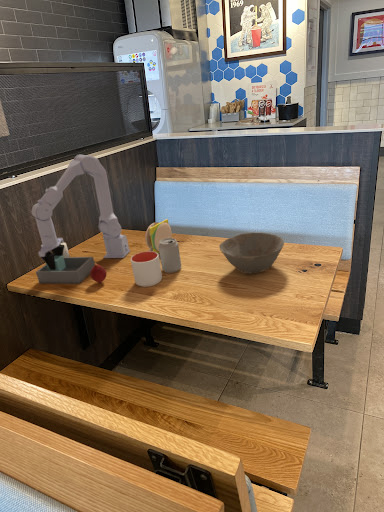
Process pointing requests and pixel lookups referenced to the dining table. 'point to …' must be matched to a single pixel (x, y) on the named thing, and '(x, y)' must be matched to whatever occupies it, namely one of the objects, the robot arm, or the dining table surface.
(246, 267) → the ceramic bowl
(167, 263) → the can
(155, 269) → the cup
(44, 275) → the tote
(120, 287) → the dining table surface
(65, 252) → the cylinder
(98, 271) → the onion
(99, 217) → the robot arm
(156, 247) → the hamburger
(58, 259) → the cube
